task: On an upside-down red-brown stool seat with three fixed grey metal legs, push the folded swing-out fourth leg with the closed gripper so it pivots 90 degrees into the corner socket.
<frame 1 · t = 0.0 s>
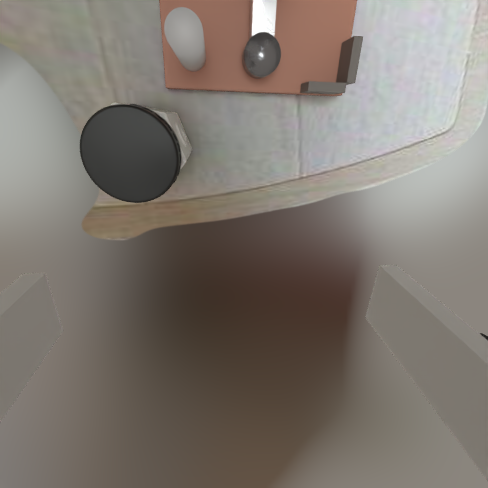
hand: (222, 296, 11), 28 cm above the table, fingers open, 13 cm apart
jar: (156, 143, 35), on the table
leg: (269, 3, 24), point 7 cm above the table, hinge at 0.0°
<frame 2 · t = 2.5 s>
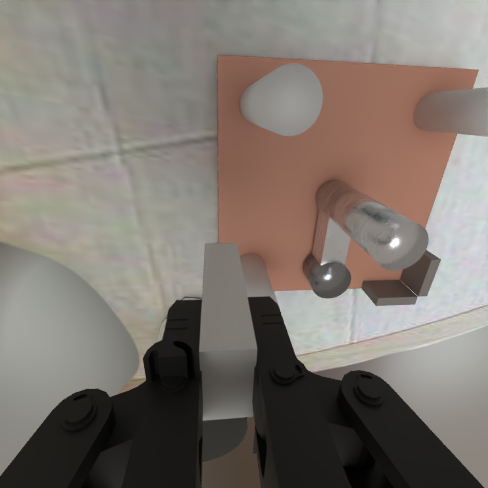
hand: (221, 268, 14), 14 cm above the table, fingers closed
jar: (201, 324, 32), on the table
leg: (349, 261, 22), point 7 cm above the table, hinge at 0.0°
seat: (323, 190, 27), on the table
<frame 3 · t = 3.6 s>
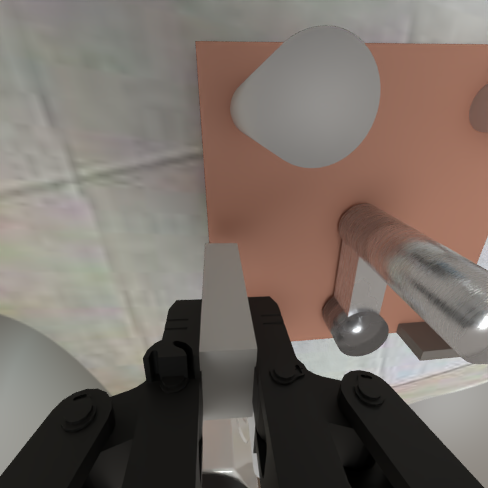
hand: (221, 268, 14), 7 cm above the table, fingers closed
jar: (198, 378, 27), on the table
leg: (392, 319, 16), point 7 cm above the table, hinge at 0.0°
seat: (345, 213, 21), on the table
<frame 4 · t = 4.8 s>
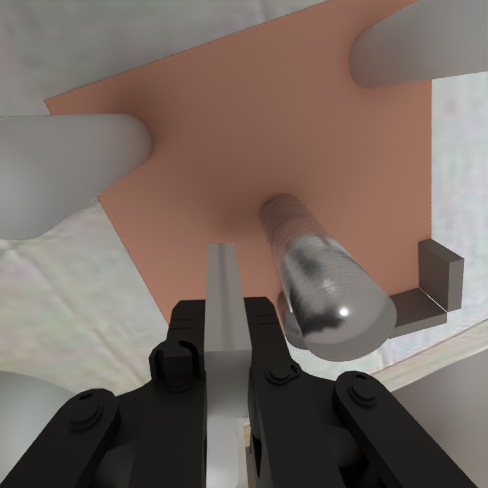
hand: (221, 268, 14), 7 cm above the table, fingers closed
jar: (195, 391, 28), on the table
leg: (315, 312, 15), point 7 cm above the table, hinge at 2.2°, touching gripper
seat: (272, 207, 20), on the table
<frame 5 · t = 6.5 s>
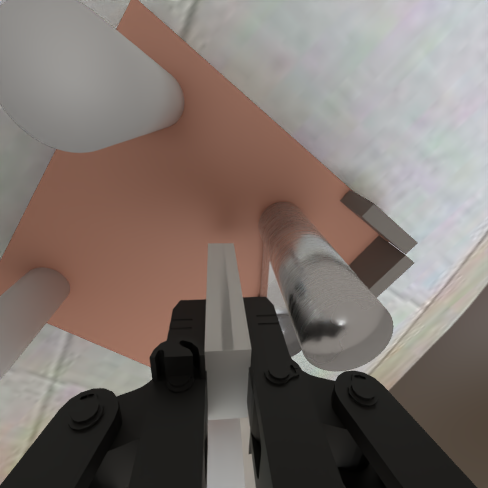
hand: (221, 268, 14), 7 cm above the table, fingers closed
jar: (260, 410, 30), on the table
leg: (295, 321, 15), point 7 cm above the table, hinge at 53.8°, touching gripper
seat: (196, 249, 21), on the table
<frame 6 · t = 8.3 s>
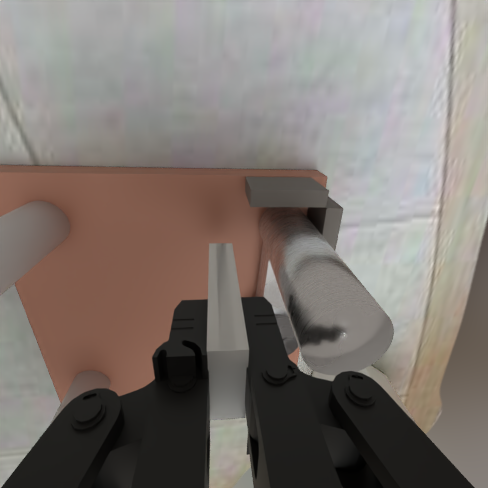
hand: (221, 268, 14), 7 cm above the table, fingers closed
jar: (341, 384, 29), on the table
leg: (291, 323, 15), point 7 cm above the table, hinge at 93.4°, touching gripper
seat: (176, 295, 22), on the table
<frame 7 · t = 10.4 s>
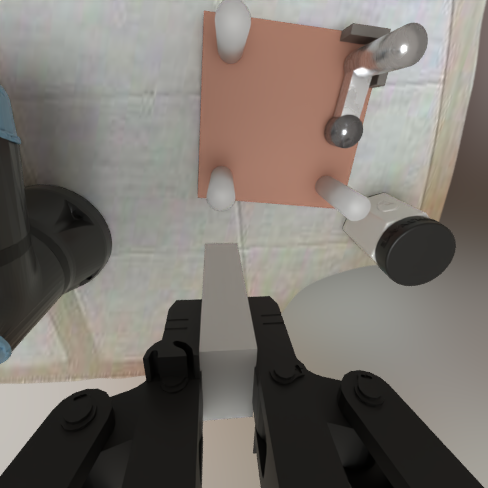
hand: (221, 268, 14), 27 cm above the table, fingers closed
jar: (370, 220, 43), on the table
leg: (366, 98, 29), point 7 cm above the table, hinge at 93.5°
seat: (279, 124, 36), on the table
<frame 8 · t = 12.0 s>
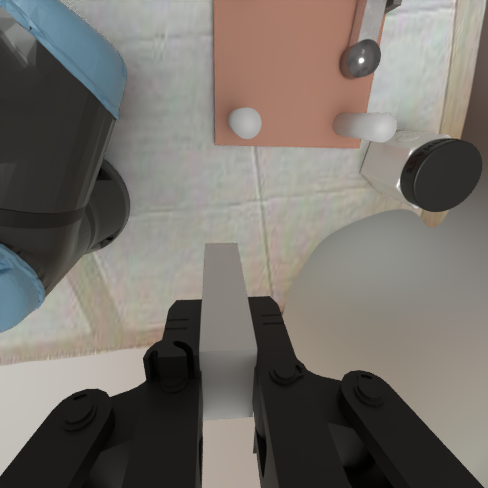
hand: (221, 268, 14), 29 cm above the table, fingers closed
jar: (387, 161, 43), on the table
leg: (384, 15, 28), point 7 cm above the table, hinge at 93.5°
seat: (293, 62, 36), on the table
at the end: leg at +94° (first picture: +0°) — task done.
